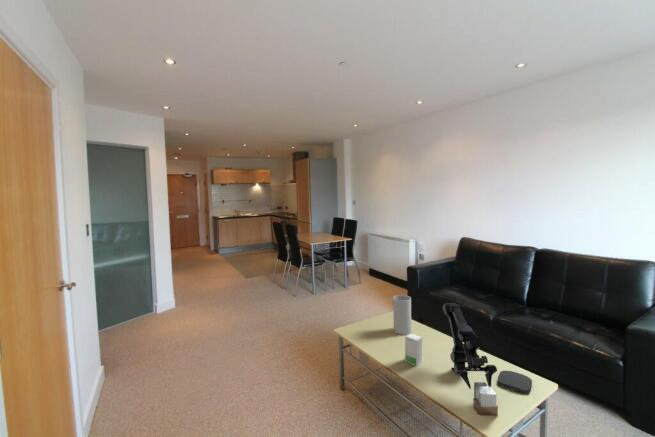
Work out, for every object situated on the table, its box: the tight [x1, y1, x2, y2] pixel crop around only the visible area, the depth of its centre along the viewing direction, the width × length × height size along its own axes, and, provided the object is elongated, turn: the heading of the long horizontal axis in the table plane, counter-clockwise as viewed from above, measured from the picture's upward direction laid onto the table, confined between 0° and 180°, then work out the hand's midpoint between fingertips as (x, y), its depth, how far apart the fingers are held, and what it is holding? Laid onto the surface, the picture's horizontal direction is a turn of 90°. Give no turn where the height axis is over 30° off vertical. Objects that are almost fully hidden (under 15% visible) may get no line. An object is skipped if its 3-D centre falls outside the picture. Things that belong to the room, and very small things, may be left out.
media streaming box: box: [497, 370, 533, 395], centre depth 164 cm, size 15×15×3 cm
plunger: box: [473, 381, 488, 398], centre depth 146 cm, size 8×5×7 cm, turn 177°
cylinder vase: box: [392, 294, 412, 336], centre depth 229 cm, size 12×12×25 cm
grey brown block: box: [472, 385, 499, 417], centre depth 144 cm, size 6×8×10 cm
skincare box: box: [404, 332, 423, 367], centre depth 188 cm, size 8×7×16 cm
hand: (480, 388), depth 149 cm, fingers open, 9 cm apart
